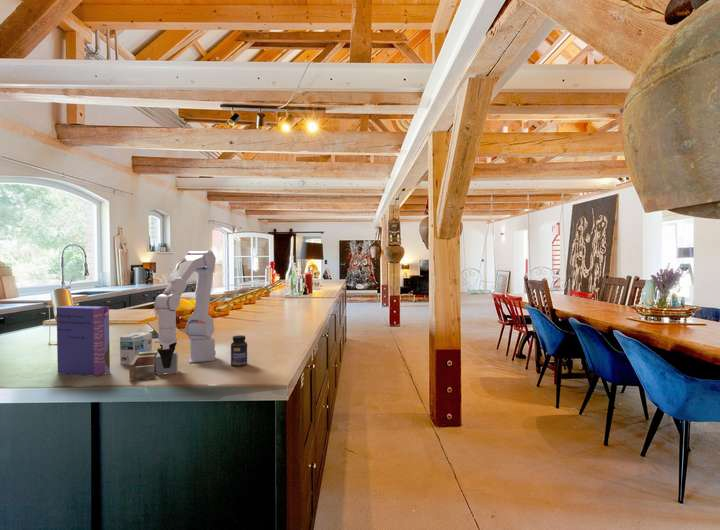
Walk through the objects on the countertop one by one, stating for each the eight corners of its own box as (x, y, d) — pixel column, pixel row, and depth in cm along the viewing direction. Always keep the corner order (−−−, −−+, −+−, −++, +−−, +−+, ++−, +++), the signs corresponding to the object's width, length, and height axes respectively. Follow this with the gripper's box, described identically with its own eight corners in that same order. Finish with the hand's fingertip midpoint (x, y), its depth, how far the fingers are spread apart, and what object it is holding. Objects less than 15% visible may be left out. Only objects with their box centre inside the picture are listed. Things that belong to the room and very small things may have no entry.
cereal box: (109, 372, 147) (108, 306, 147) (98, 376, 143) (97, 307, 142) (69, 369, 151) (68, 305, 150) (57, 373, 146) (56, 306, 146)
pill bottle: (232, 367, 152) (232, 338, 152) (229, 364, 158) (229, 335, 158) (249, 365, 155) (248, 337, 155) (245, 362, 161) (245, 334, 161)
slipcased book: (178, 370, 149) (178, 352, 149) (177, 373, 146) (177, 355, 146) (157, 372, 147) (156, 354, 147) (155, 375, 143) (155, 357, 143)
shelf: (157, 367, 153) (157, 350, 153) (153, 378, 139) (153, 359, 139) (136, 369, 150) (135, 352, 150) (129, 381, 137) (129, 361, 136)
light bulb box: (135, 365, 157) (134, 337, 157) (119, 364, 158) (119, 337, 158) (153, 358, 168) (152, 332, 168) (138, 357, 169) (137, 331, 168)
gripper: (156, 325, 151) (157, 361, 152) (152, 331, 138) (153, 371, 138) (177, 323, 154) (178, 359, 154) (175, 330, 140) (175, 369, 141)
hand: (167, 365), depth 146 cm, fingers open, 7 cm apart
